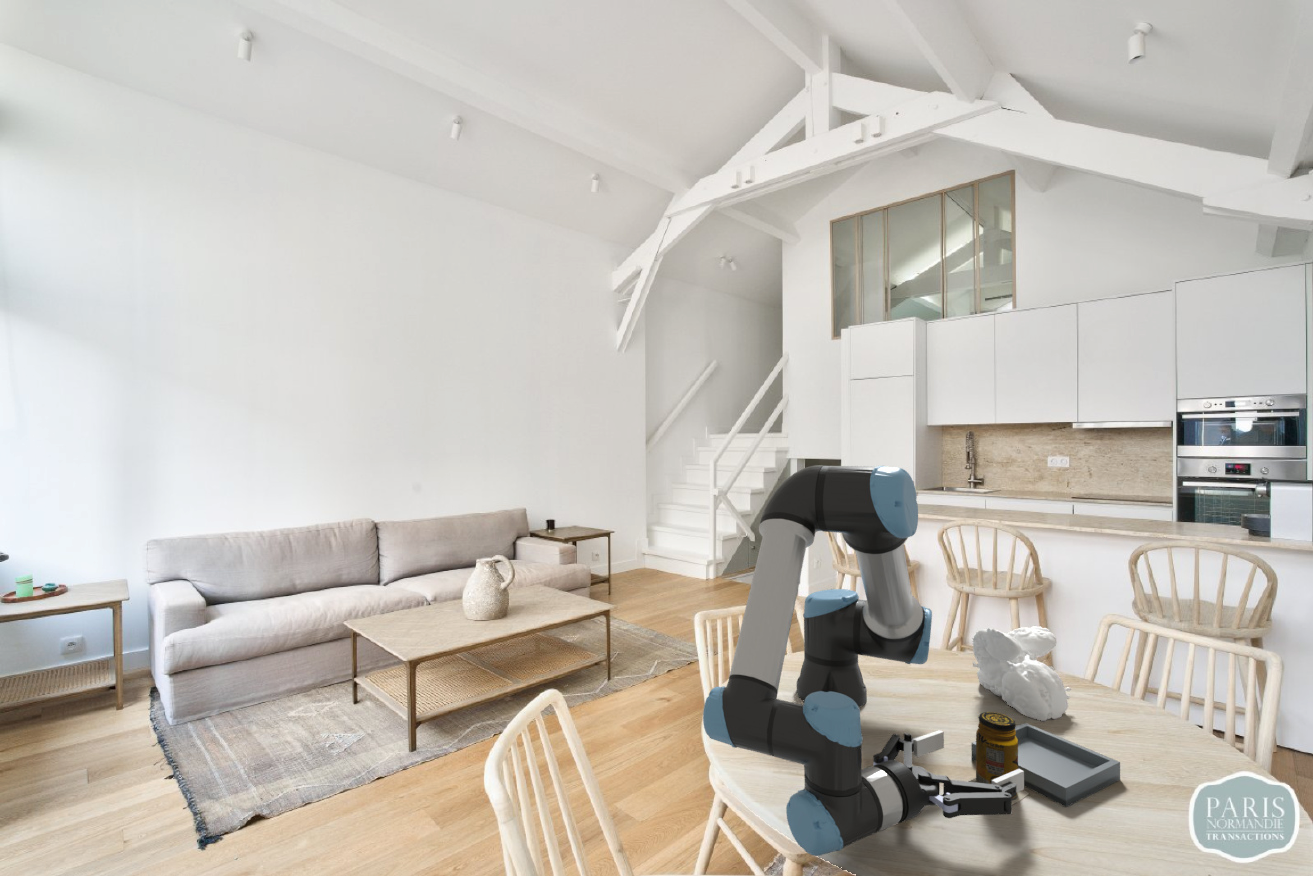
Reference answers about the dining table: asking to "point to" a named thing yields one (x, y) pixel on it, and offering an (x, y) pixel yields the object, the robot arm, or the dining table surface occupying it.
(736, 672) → the robot arm
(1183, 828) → the dining table surface
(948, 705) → the dining table surface
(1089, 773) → the tray
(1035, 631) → the white lumpy sculpture
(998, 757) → the condiment
